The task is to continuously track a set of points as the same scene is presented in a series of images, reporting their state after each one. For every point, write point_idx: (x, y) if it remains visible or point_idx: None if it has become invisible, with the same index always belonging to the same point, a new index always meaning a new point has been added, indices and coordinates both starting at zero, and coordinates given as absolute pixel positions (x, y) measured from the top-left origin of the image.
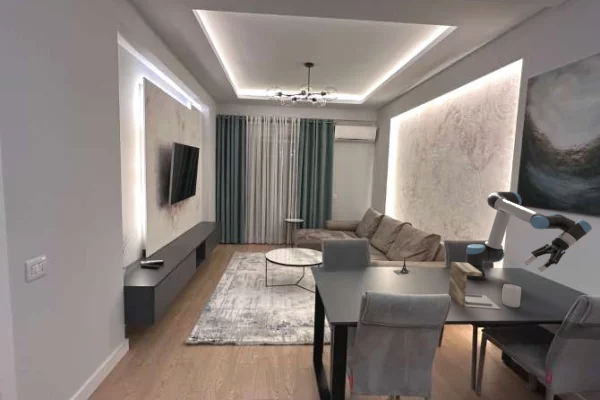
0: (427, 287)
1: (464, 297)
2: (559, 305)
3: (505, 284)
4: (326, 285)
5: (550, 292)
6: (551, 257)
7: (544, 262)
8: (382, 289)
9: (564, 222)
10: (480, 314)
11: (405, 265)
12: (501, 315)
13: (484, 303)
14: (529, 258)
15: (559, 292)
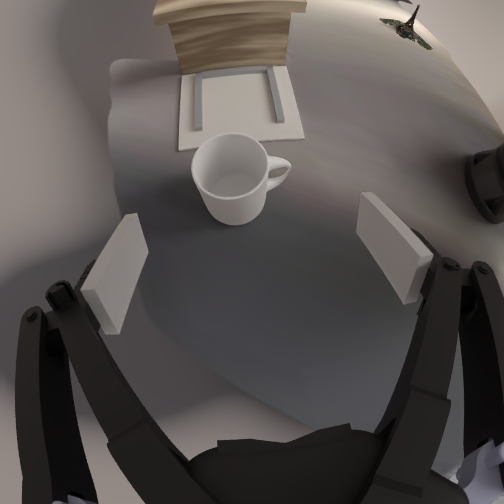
0: (311, 34)
1: (177, 55)
2: (289, 395)
3: (260, 146)
4: None
5: None
6: (71, 343)
7: (107, 261)
8: None
9: None
10: (135, 100)
11: (413, 22)
12: (133, 143)
13: (196, 109)
14: (386, 226)
15: None
